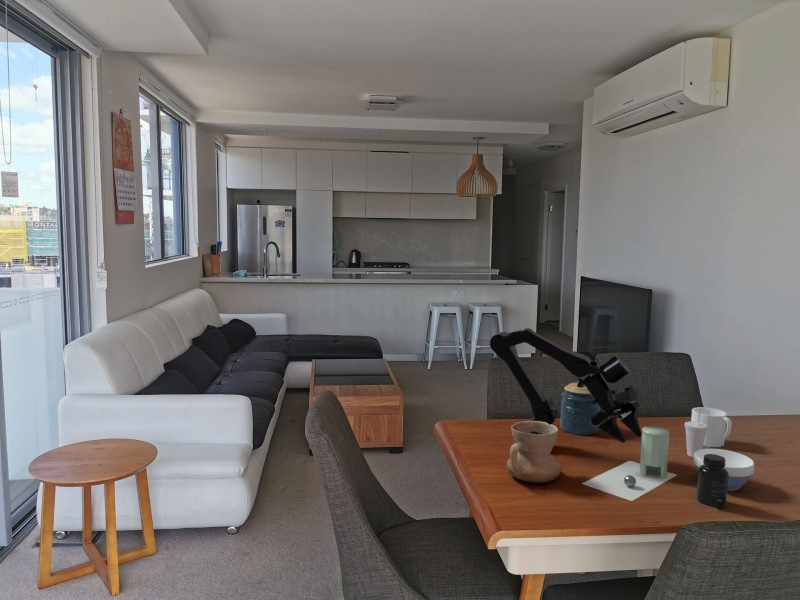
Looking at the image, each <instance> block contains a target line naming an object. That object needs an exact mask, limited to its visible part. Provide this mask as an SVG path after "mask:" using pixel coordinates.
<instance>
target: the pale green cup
mask: <svg viewBox="0 0 800 600" xmlns="http://www.w3.org/2000/svg"><path fill="white" fill-rule="evenodd" d="M641 433H642V436H641V447H640V460H639V464H640V474H641V475H643V476H646V471H647V470H651V471H657V472H660V473H661V477H660V478H662V479H664V478H666V476H667V472H668V459H669V444H670V443H669V442H670V430H668V429H666V428H663V427H659V426H644V427H642V429H641Z"/></svg>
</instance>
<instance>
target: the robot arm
mask: <svg viewBox="0 0 800 600" xmlns="http://www.w3.org/2000/svg"><path fill="white" fill-rule="evenodd" d="M523 343H526V344H528V345H530V346H532V347H533V348H534V349H537V350H538V351H540V352H542V353H544V354H545V355H547V356H549V357H550V358H552V359H554V360H556V361H558V362H559V364H561V365H562V366H563V367H564V368H565V369H566V370H567V371H568V372H570V373H571V374H572V375H573V376H575V377H577V378H578V379H577V383H578V384H577V387H579V388H583V387H584V386H585V387H586V388H587V390H588V391H589V393H590V394H591V396H592V397H593V399H594V401H592V402H593V404H597V405H598V406H599V408H600V410H599V411H598V412H597V413H595V414H594V415H593V416H591V418H590V422H591V424H592V425H593V427H596V426H598V427H597V428H598V430H601V431H603V432H605V433H607V434H608V435H609V436H611V437H612V438H615V439H616V440H617V441H618V442H621V443H622V444H624V443H625V442H626V438H625V436H624V434H623V432H622V431H621V428H620V426H619V425H618V423H617V421H618V420H617V419H618V418H619V419H620V420H619V421H620V422H621V423H622V424H623V425H624V426H625V427H626V428H628V429H629V430H630V431H631V432H632V433H633V434H634V435H636V436H637V437H638V438H640V437H641V438H642V429H641V428H640V424H639V420H638V413H639V412H640V408H641V406H640V404H639V403H638V394H639V392H638V391H637V389H636V388H634V387H633V385H632V386H627V387H625V388H624V391H620V392H618V391H617V390H616V389H612V388H611V387H610V386H609V384H616V383H618V382H620V381H622V380H623V379H624V378H626V377H627V376H629V375H631V373H632V372H631V370H630V368H629V366H628V365H627V364H626V363H625V362H624V361H623V360H622V359H620V357H618V356H617V354H614V355H612V356H611V357H610V358H609V359H607V360H606V361H604V362H603V363H601V362H597V361H595V360H591V359H592V358H590V357H589V356H587V355H586V354H583V353H580V352H577V351H573V350H570V349H568V348H567V349H566V348H564V347H562V346H561V345H560V344H557V343H555V342H554V341H552V340H550V339H548V338H547V337H545V336H543V335H542V334H539V333H538V332H537V331H534V330H533V329H532V328H530V327H526V328H524V329H521V330H515V331H513V332H506V331H500V332H498V333H496V334H494V335H493V336H491V338H490V341H489V346H490V349H491V350H492V351H493V352H494V353H495V355H496V356H497V357H498V358H499V359H500V360H502V361H503V362H505V364H506V365H507V367H508V368H509V371H510V373H511V374H512V375H513V377H514V378H515V380H516V382H517V383H518V385H519V386H520V388H521V389H522V391H523V393H524V394H525V395H524V396H526V398H527V399H528V401H529V404H530V408H531V413H532V415H533V417H532V418H531V419H530V421H540V422H545V423H548V424H549V425H551V424H552V425H554V422H555V421H556V419H557V418H558V416H559V415H558V414H559V412H558V409H557V408H558V405H557V404H555V401H554V400H553V397H552V396H551V395H549V396H548V397H546V396H545V395H544V394H542V392H541V390H540V388H539V387H538V385H537V384H536V382H535V381H534V379H533V377H532V376H531V374H530V372H529V371H528V370H527V368H526V366H525V364H524V363H523V361H522V360H521V358H520V356H519V354H518V350H517V345H520V344H523ZM583 377H584V378H583ZM608 383H609V384H608ZM530 433H531V434H535V435H537V434H541V433H538V432H534V431H533V432H530Z"/></svg>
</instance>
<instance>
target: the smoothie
mask: <svg viewBox="0 0 800 600" xmlns="http://www.w3.org/2000/svg"><path fill="white" fill-rule="evenodd" d="M699 420H700V411H698V419H697V422H691V421H685V422H684V427H685V437H686V438H685V441H686V452H687V456H688V457H690V458H694V453H695V452H696V451H697V450H700V449H704V446H703V443H704V439H705V434H706V430H707V428H708V426H707V425H706V424H703V423H700V422H699Z"/></svg>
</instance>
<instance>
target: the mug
mask: <svg viewBox="0 0 800 600" xmlns="http://www.w3.org/2000/svg"><path fill="white" fill-rule="evenodd" d="M698 411H700V420H699V422H700V423H703V424H706V425H707V426H708V428H707V430H706V434H705V439H704V443H703V447H704V446H705V448H710V447H719V448H722V447H721V446H723V447H724V446H725V442H726V441H725V440H726V439H727V438H728V437H730V434H731V431H732V426H733V423H732V420H731V419H730V417H727V415H728V413H727V412H725V411H723V410H720V409H718V408H712V407H700V406H699V407H693V408H692V409H691V421H690V422H697V419H698Z"/></svg>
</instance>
